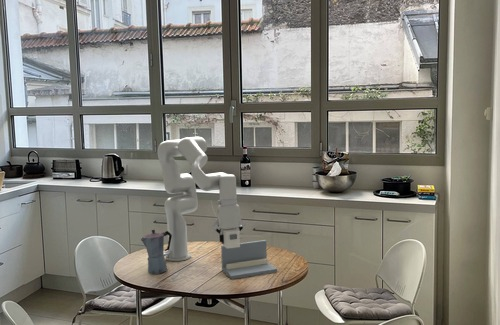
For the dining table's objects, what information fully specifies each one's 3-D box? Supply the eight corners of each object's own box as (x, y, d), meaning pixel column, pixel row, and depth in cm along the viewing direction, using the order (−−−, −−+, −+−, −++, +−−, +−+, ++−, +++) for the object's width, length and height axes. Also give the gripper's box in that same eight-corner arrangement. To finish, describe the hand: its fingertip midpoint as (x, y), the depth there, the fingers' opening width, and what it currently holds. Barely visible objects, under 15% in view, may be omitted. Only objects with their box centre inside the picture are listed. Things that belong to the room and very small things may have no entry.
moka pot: (138, 272, 220) (136, 230, 218) (167, 264, 230) (165, 224, 228) (148, 277, 213) (145, 234, 211) (177, 269, 223) (175, 228, 220)
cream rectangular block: (227, 249, 203) (226, 233, 202) (219, 241, 215) (219, 226, 214) (240, 247, 205) (240, 231, 204) (232, 240, 217) (231, 225, 216)
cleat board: (231, 279, 208) (230, 253, 206) (222, 269, 221) (221, 245, 219) (277, 271, 215) (276, 247, 214) (265, 263, 228) (265, 239, 227)
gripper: (211, 205, 202) (212, 246, 204) (249, 202, 207) (250, 242, 209) (207, 202, 209) (208, 242, 211) (244, 199, 215) (245, 237, 216)
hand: (229, 241), depth 210 cm, fingers closed on cream rectangular block, 6 cm apart
